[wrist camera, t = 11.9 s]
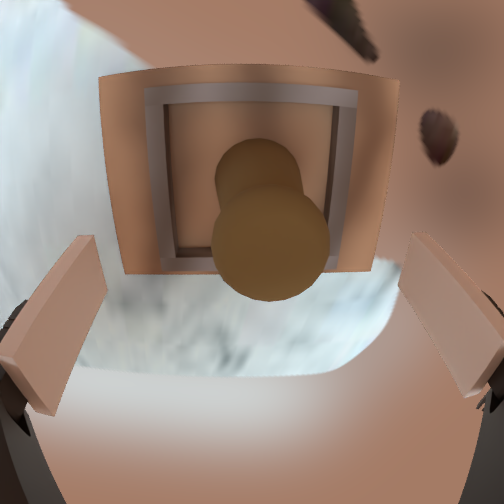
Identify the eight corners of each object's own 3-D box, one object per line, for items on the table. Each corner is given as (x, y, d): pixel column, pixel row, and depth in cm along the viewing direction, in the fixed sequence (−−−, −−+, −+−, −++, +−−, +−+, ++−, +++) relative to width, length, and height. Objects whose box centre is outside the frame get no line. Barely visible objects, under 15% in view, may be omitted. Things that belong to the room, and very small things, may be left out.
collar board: (128, 267, 26) (120, 284, 24) (104, 77, 18) (89, 77, 16) (366, 265, 27) (376, 281, 25) (393, 80, 19) (409, 81, 17)
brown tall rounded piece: (263, 234, 24) (280, 341, 15) (197, 187, 22) (168, 277, 13) (317, 174, 22) (377, 252, 12) (251, 120, 20) (265, 157, 10)
